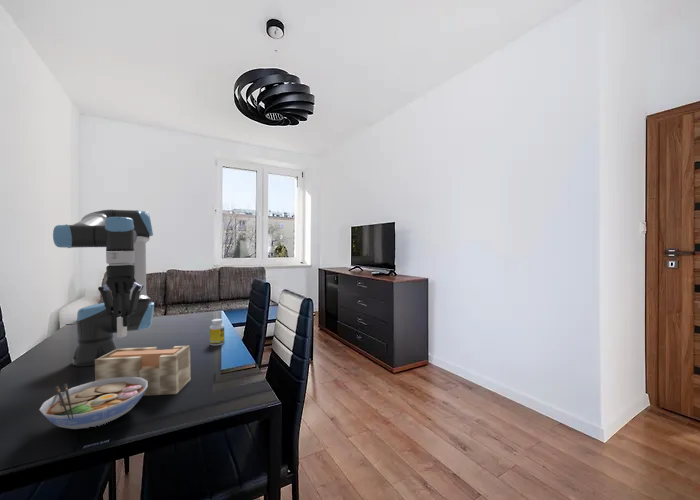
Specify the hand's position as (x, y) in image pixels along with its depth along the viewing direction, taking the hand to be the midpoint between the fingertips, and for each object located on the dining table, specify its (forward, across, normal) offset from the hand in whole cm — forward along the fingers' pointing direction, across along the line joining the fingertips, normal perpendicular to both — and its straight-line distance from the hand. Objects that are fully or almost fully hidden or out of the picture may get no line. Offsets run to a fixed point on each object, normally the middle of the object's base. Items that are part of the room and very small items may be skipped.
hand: (122, 336), depth 104 cm
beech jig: (+18, +7, 0) cm, 19 cm away
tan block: (+10, +7, 0) cm, 12 cm away
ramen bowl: (+18, +5, -19) cm, 27 cm away
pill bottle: (+17, +15, +48) cm, 53 cm away
